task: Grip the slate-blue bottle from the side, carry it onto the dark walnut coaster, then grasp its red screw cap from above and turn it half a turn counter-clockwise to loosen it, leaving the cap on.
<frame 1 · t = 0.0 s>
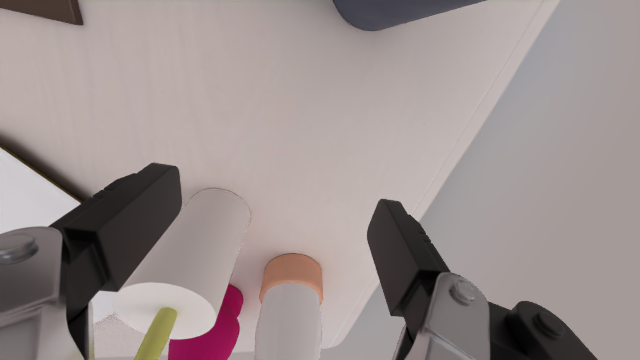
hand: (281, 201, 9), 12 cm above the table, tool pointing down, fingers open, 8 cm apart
candle: (220, 213, 24), on the table
pepper shaker: (293, 272, 29), on the table
plate: (0, 242, 25), on the table
pepper mill: (220, 295, 31), on the table
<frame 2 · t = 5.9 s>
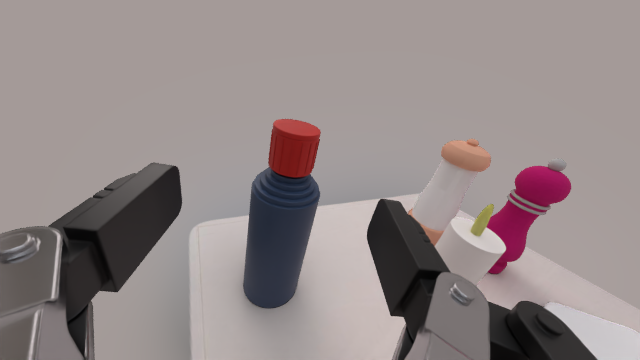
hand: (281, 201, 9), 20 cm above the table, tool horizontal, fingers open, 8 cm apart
bottle: (270, 282, 28), on the table
candle: (438, 287, 34), on the table
cap: (296, 131, 19), point 20 cm above the table, screwed on, not yet turned
pepper shaker: (420, 233, 44), on the table
pepper mill: (481, 260, 41), on the table
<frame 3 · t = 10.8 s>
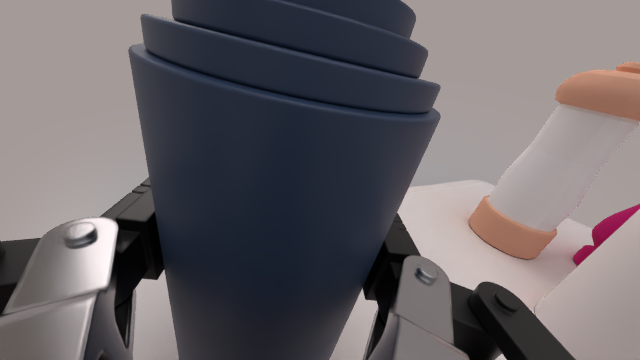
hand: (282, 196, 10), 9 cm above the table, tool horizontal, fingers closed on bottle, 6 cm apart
candle: (583, 342, 18), on the table
pepper shaker: (499, 236, 28), on the table
pepper mill: (607, 278, 25), on the table
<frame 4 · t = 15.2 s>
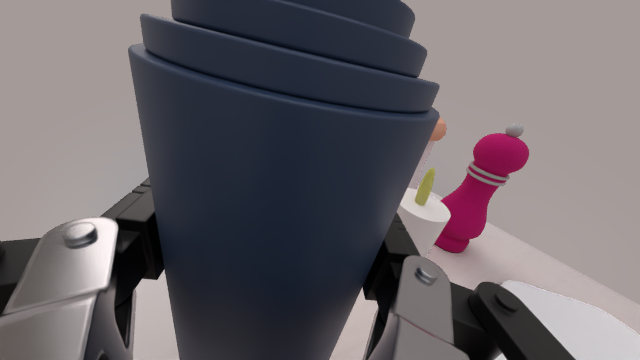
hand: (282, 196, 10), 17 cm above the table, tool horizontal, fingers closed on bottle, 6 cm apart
candle: (389, 266, 31), on the table
pepper shaker: (382, 213, 42), on the table
pepper mill: (443, 239, 39), on the table
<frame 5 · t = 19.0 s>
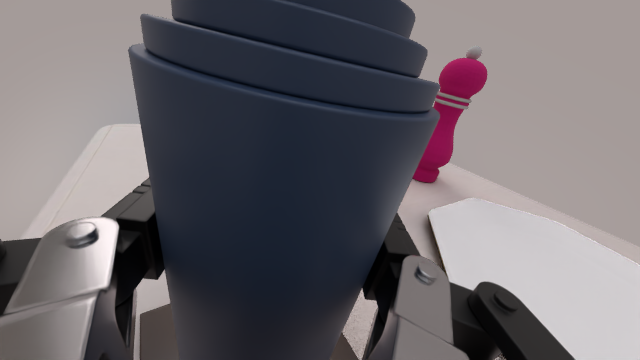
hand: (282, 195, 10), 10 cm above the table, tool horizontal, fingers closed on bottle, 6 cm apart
plate: (574, 300, 22), on the table
pepper mill: (416, 174, 41), on the table
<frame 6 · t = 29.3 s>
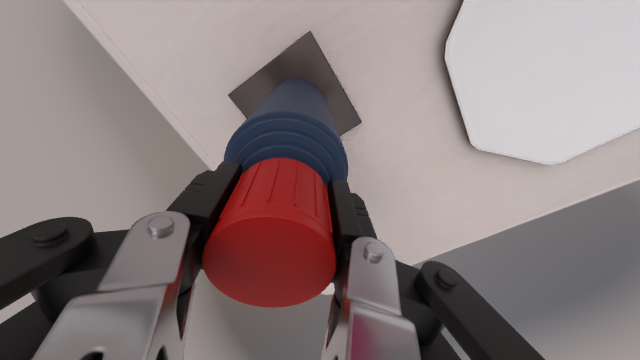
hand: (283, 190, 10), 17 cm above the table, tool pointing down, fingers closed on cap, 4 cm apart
coaster: (297, 108, 25), on the table
bottle: (297, 111, 24), point 1 cm above the table, touching coaster
cap: (272, 257, 7), point 20 cm above the table, screwed on, not yet turned, touching gripper
plate: (591, 21, 22), on the table
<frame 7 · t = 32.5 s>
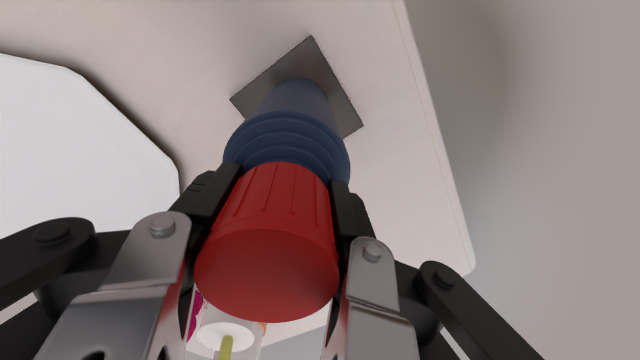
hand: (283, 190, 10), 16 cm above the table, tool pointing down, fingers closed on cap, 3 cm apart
coaster: (299, 111, 24), on the table
bottle: (298, 111, 24), point 1 cm above the table, touching coaster, gripper
candle: (247, 262, 35), on the table
cap: (270, 270, 7), point 20 cm above the table, turned 181° so far, risen 0.2 cm, still on its thread, touching gripper
pepper shaker: (248, 309, 41), on the table
plate: (64, 181, 28), on the table
pepper mill: (184, 296, 39), on the table
when the fingers open (16 cm above the table, at t = 36.7 s): cap stays where it is, point 20 cm above the table.
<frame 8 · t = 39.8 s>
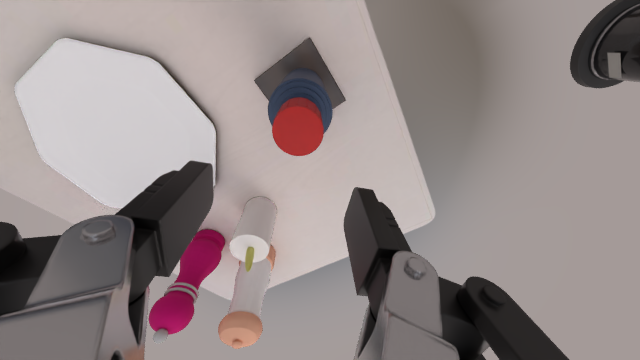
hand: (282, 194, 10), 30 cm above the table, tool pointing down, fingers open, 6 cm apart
coaster: (301, 90, 36), on the table
bottle: (303, 91, 35), point 1 cm above the table, touching coaster
candle: (260, 209, 47), on the table
cap: (298, 130, 18), point 20 cm above the table, turned 181° so far, risen 0.2 cm, still on its thread
pepper shaker: (259, 251, 52), on the table
plate: (133, 140, 38), on the table
pepper mill: (210, 239, 50), on the table
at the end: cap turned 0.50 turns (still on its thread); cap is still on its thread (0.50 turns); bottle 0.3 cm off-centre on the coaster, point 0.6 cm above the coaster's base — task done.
